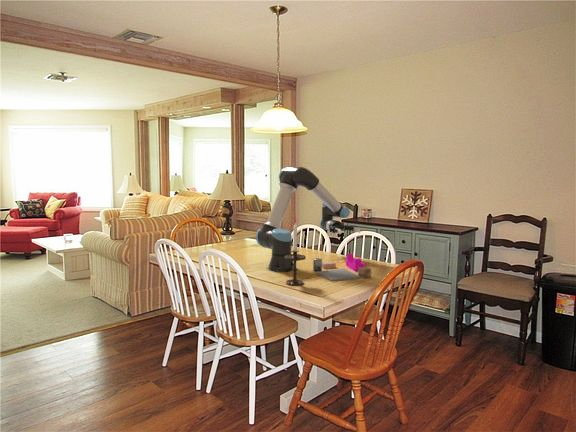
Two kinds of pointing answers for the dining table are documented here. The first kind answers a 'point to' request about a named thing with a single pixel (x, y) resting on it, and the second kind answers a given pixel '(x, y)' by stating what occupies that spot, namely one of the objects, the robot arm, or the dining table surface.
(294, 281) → the candlestick
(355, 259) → the toy block
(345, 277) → the slate mat
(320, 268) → the metal peg
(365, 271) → the walnut cube
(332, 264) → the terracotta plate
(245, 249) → the dining table surface
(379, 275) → the dining table surface
